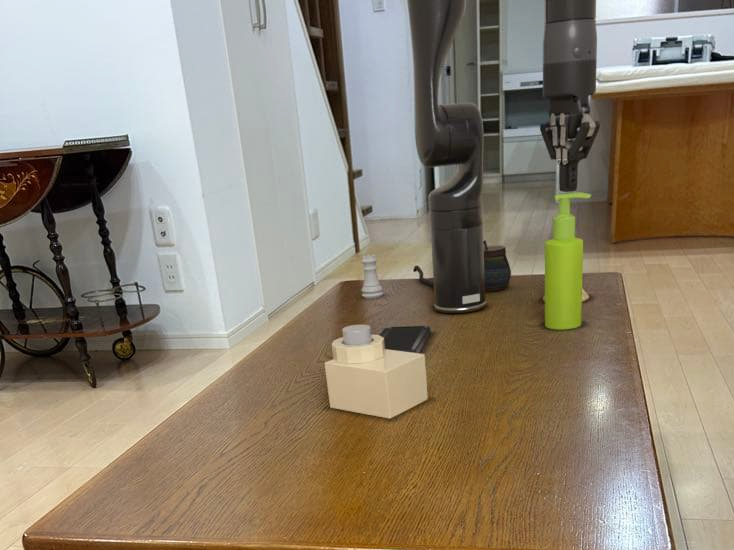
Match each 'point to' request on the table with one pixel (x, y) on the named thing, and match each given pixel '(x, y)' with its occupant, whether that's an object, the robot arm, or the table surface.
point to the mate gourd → (496, 268)
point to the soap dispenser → (564, 269)
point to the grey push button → (357, 335)
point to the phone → (405, 338)
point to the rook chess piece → (370, 278)
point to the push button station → (375, 378)
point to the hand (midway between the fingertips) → (568, 191)
